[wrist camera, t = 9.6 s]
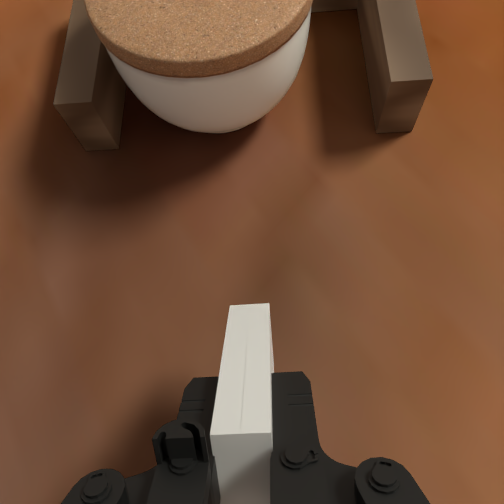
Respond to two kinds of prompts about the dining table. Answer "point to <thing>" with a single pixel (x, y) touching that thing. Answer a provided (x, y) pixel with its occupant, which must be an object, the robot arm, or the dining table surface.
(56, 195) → the dining table surface
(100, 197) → the dining table surface
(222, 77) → the lidded jar
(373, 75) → the u-shaped bracket
